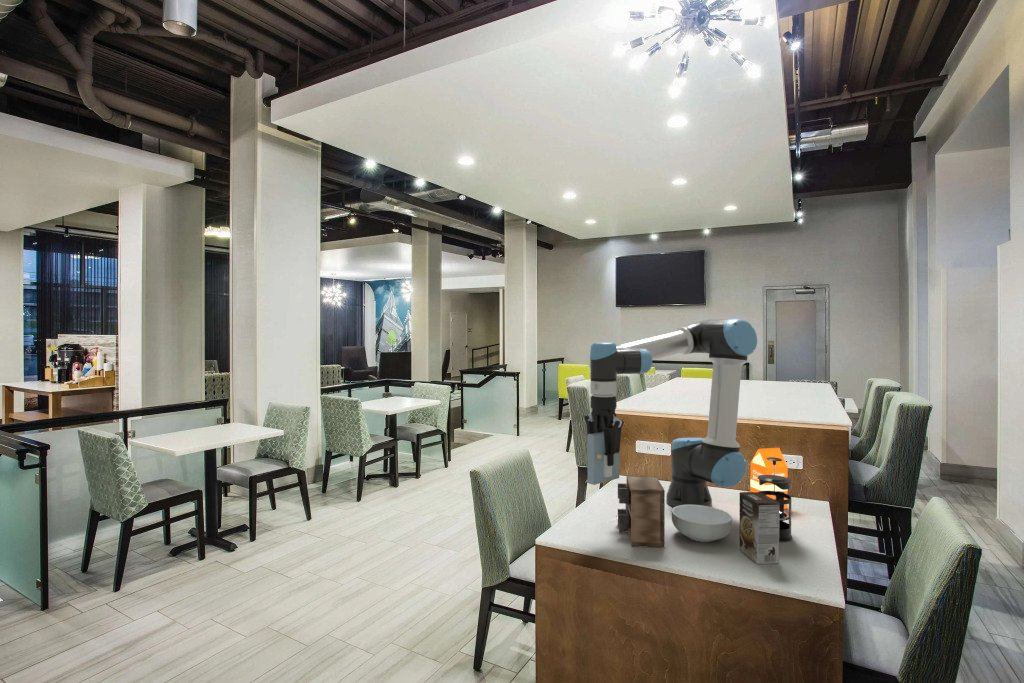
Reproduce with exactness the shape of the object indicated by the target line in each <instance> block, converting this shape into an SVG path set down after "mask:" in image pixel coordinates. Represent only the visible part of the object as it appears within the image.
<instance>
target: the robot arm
mask: <svg viewBox="0 0 1024 683" xmlns="http://www.w3.org/2000/svg"><path fill="white" fill-rule="evenodd" d="M757 345H758V337H757V332H756V330H755V328H754V327H753V326H752V324H751V323H750V322H749V321H747V320H746V319H742V318H723V319H705V320H701V321H698V322H695V323H690V324H688V325H684V326H679V327H678V328H676V329H675V331H672V332H667V333H664V334H659V335H656V336H651V337H646V338H641V339H638V340H633V341H630V342H625V343H622V344H616V343H615V342H593V343H592V344H591V345H590V351H589V352H590V353H589V359H590V360H589V362H590V364H589V365H590V366H589V367H590V370H589V372H590V394H591V396H590V408H591V409H592V410H591V412H590V414H589V415H584V420H585V424H586V433H587V435H588V434H594V433H599V432H604V438H605V448H606V453H604V454H605V455H604V477H605V478H606V477H610V476H612V466H613V464H614V461H613V460H614V454H616V453H619V454H620V451H621V440H622V439H621V437H622V428H623V426H624V420H623V419H619V418H618V417H617V414H616V410H617V402H618V401H617V398H618V397H617V396H616V395H617V377H618V376H617V375H632V374H633V375H635V374H636V375H640V374H646V373H648V372H650V370H651V369H652V366H653V361H654V360H657V359H661V358H665V357H669V356H672V355H678V354H682V355H689V354H697V353H698V354H708V359H709V361H711V363H712V376H711V387H710V388H711V390H710V399H709V412H708V422H707V424H708V425H707V434H706V436H705V437H678V438H675V439H673V440H672V442H671V449H670V454H671V455H670V456H671V458H670V459H671V460H670V461H671V481H670V484H669V486H668V489H667V492H666V496H665V498H666V503H667V505H669V506H671V507H673V508H674V507H676V506H680V505H702V506H708V507H713V499H712V495H711V493H710V490H709V486H708V483H711V484H713V485H714V486H717V487H723V488H729V489H730V488H732V487H733V488H734V487H735V486H737V485H738V484H740V482H742V481H743V479H744V478H745V476H746V473H747V470H748V462H747V460H746V457H745V456H744V455H743V454H742V453H741V452H740V450H741V449H740V448H741V445H740V443H739V442H738V441H737V439H736V438H737V437H736V436H737V427H738V426H737V425H738V412H739V411H738V410H739V401H740V390H741V389H740V388H741V377H742V376H741V375H742V366H744V365H745V364H746V363H747V362H748V356H749V355H751V354H753V353H754V351H755V350H756V349H757V347H758V346H757ZM587 435H586V436H587Z"/></svg>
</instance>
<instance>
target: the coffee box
mask: <svg viewBox="0 0 1024 683" xmlns="http://www.w3.org/2000/svg"><path fill="white" fill-rule="evenodd" d="M779 518H780V503H779V502H777V501H776V500H774V499H772V498H770V497H768V496H767V495H765V494H763V493H761V492H751V491H744V492H743V491H741V492H739V531H738V532H739V533H738V534H739V539H738V540H739V548H738V549H739V550H740V552H741V553H743V554H744V555H745V556H747V557H748V558H749V560H752V561H753V562H754V563H755V564H757V565H764V564H765V565H766V564H767V565H768V564H780V557H779V556H780V542H779Z"/></svg>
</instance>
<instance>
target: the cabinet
mask: <svg viewBox="0 0 1024 683" xmlns="http://www.w3.org/2000/svg"><path fill="white" fill-rule="evenodd" d="M665 491H666V490H665V489H664V487H663V486H662V484H661V482H660V480H659V479H658V477H657V476H645V475H643V476H642V475H641V476H640V475H638V476H637V475H627V476H626V483H622V482H621V483H619V482H617V499H618V503H619V504H620V505H621V504H622V505H623V504H625V508H617V515H618V519H617V526H618V525H619V526H618V531H619V532H622V531H628V532H627V533H628V534H629V535H628V534H627V535H628V538H629V541H630V546H631V547H639V546H649V547H648V548H661V547H665V546H666V545H665V538H666V537H665V532H666V530H665V520H666V519H665V518H666V517H665V516H666V515H665V509H666V507H665V498H666V496H665V495H666V494H665Z"/></svg>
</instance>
